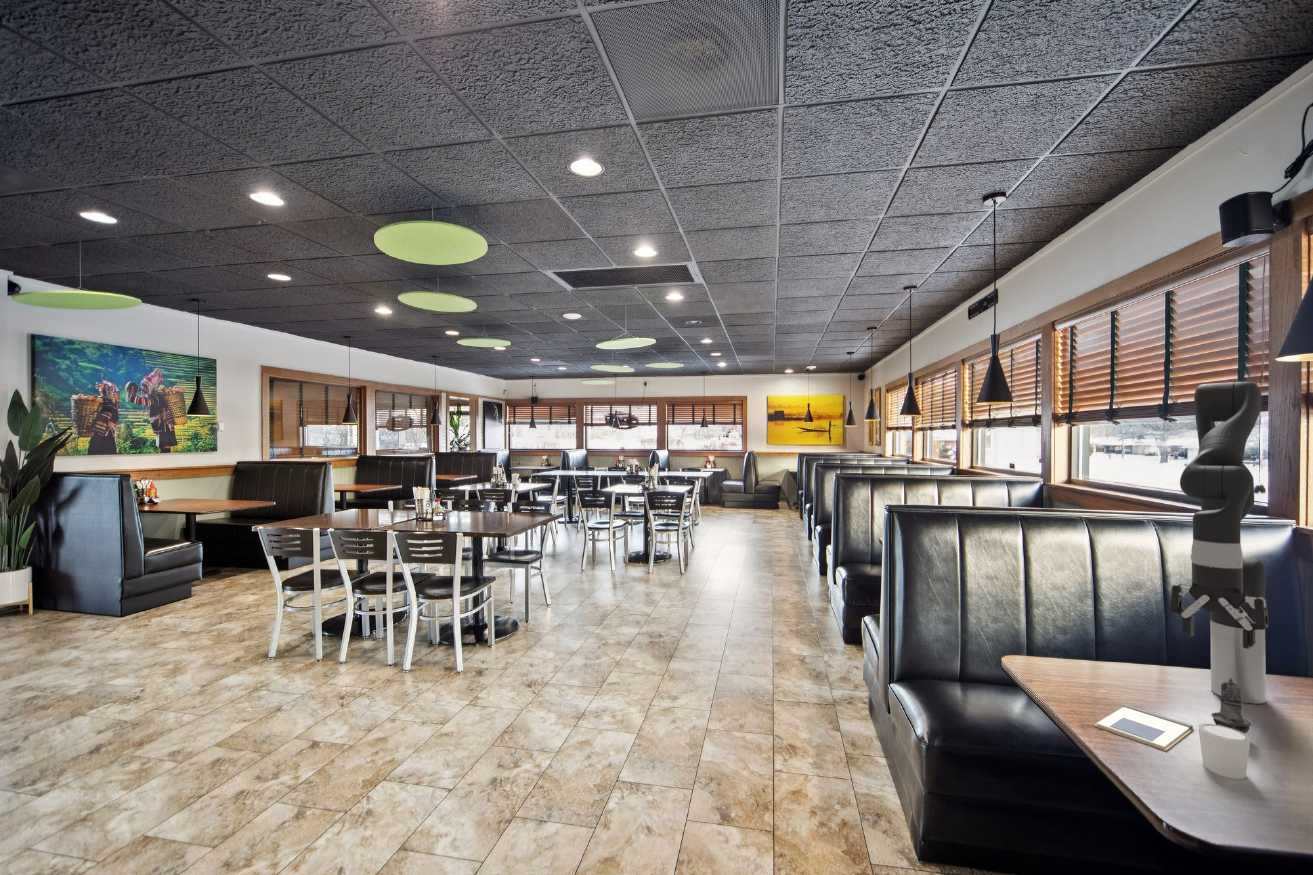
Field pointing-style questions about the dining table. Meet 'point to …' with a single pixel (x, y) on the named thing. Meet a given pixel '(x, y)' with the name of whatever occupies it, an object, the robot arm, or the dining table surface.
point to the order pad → (1146, 727)
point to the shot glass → (1224, 750)
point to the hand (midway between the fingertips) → (1217, 641)
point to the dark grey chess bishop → (1231, 708)
